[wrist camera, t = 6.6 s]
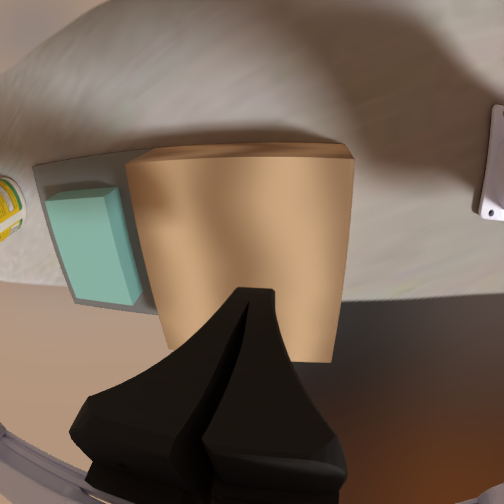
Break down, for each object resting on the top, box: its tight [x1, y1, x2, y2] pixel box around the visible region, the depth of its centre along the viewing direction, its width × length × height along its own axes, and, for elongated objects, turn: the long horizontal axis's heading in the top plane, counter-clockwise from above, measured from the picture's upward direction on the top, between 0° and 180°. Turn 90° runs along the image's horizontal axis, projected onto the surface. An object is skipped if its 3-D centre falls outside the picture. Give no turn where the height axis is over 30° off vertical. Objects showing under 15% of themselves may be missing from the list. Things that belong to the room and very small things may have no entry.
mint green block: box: [45, 187, 143, 306], centre depth 23 cm, size 6×9×2 cm, turn 3°
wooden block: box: [125, 142, 355, 363], centre depth 20 cm, size 12×14×4 cm
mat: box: [33, 148, 158, 315], centre depth 24 cm, size 12×14×1 cm
